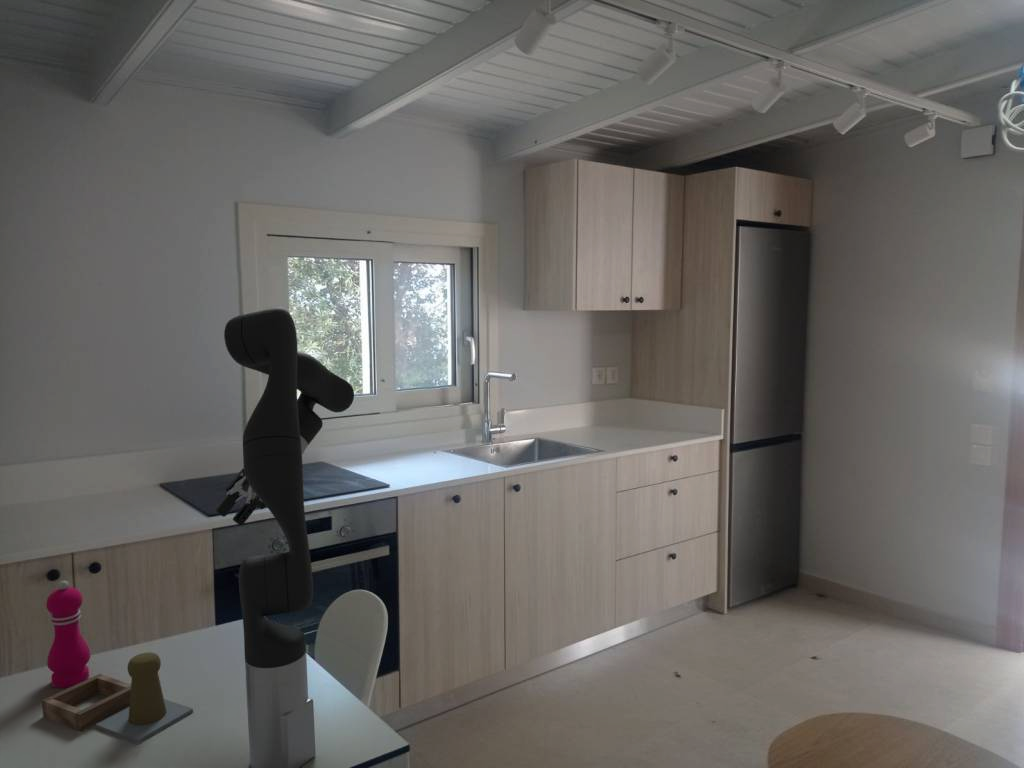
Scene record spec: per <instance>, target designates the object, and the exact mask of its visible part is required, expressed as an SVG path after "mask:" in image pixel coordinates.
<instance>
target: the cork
mask: <svg viewBox="0 0 1024 768" xmlns="http://www.w3.org/2000/svg"><path fill="white" fill-rule="evenodd" d="M161 665H162V663H161V658H160V656H159V655H158V654H157V653H155V652H143V653H139V654H136V655H134V656H133V657H132V658H131V659H130V660H129V661H128V663H127V672H128V675H129V677H131V683H130V684H131V694H130V707H129V719H128V720H129V723H131V724H132V725H147V724H151V723H154V722H156V721H158V720H160V719H162V718H163V717H164V716H165V715H166V712H167V711H166V707H165V702H164V699H165V698H164V693H163V690H162V685H161V680H160V675H159V671H160V668H161Z"/></svg>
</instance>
